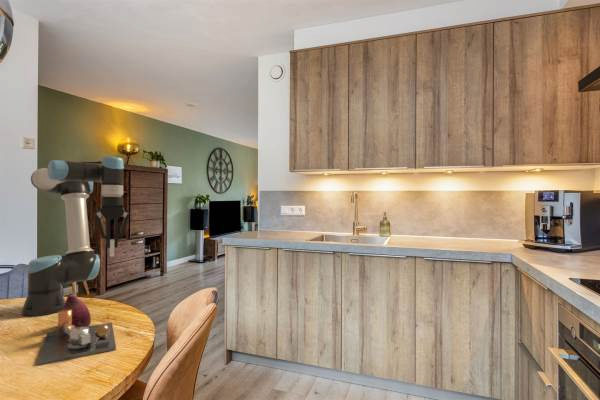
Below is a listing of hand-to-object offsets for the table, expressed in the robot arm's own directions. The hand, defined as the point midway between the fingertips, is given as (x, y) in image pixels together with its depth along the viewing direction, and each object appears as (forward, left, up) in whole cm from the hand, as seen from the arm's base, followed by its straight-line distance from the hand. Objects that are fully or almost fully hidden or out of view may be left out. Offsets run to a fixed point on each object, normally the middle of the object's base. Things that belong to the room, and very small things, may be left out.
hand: (111, 256), depth 133 cm
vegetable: (-4, -12, -27) cm, 30 cm away
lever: (+17, -12, -24) cm, 31 cm away
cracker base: (+16, -10, -26) cm, 32 cm away
